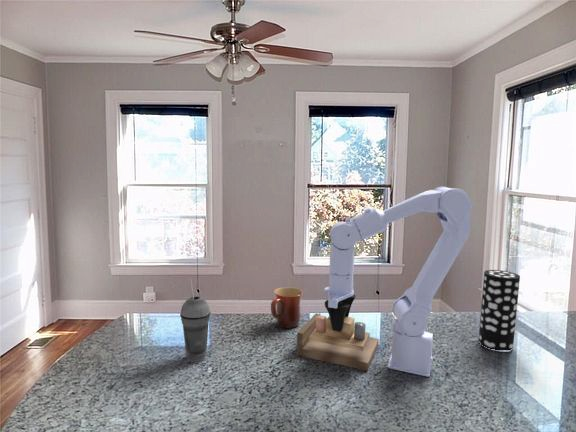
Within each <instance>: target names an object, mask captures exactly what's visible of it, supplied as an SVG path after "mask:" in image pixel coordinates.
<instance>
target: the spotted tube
mask: <svg viewBox="0 0 576 432" xmlns="http://www.w3.org/2000/svg"><path fill="white" fill-rule="evenodd" d="M520 279H521V276H520V275H519V274H518V273H514V272H513V271H512V272H511V271H508V270H500V269H499V270H498V269H488V270H484V273H483V284H482V292H481V294H482V295H481V305H480V318H479V319H480V320H479V328H478V329H479V330H478V331H479V332H478V340H477V341H479V343H480V344H481V345H483V346H485V347H487V348H490V349H495V350H511V349H512V348H513V349H514V343H515V342H514V341H515V335H516V334H515V333H516V322H517V310H518V299H519V290H520V281H521V280H520ZM479 343H478V344H479ZM480 344H479V345H480ZM481 345H480V346H481Z"/></svg>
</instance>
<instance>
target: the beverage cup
mask: <svg viewBox="0 0 576 432" xmlns="http://www.w3.org/2000/svg"><path fill="white" fill-rule="evenodd" d="M189 286H190V296H191V297H190V298H188V299H186V300H185V302H184V303H182V305H181V308H180V315H179V316H180V320H181V324H182V328H183V337H184V338H183V339H184V346H185V347H184V348H185V355H186V360H188V361H187V362H189V363H193V364H194V363H195V364H196V363H200V362H202V361H205V360H206V358H207V357H206V355H207V345H208V335H209V321H210V318H211V313H212V312H211V308H210V305H209V303H208V301H207V300H205V298H203V297H200V296H195V295H194V288H193V283H192V279H191V278H189Z"/></svg>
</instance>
